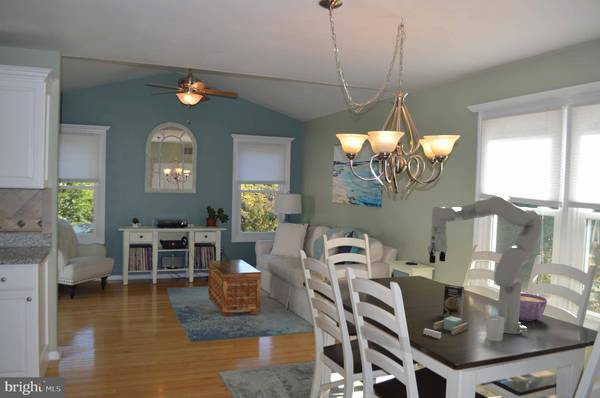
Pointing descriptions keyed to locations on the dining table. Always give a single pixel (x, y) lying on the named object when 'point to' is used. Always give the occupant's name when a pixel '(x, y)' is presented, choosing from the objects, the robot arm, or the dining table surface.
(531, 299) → the bowl of food
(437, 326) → the channel
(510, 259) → the robot arm
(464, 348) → the dining table surface
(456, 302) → the coffee box
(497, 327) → the white cup
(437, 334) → the stop bar
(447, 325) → the block
